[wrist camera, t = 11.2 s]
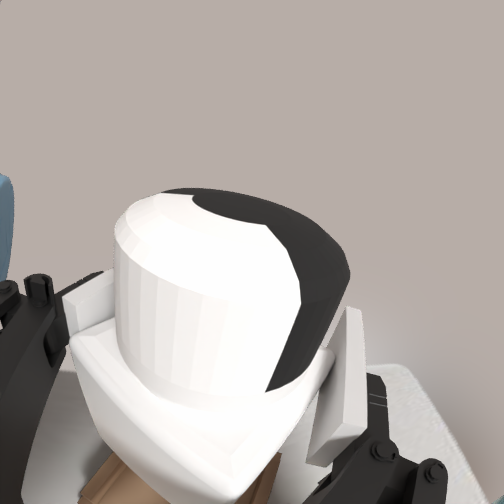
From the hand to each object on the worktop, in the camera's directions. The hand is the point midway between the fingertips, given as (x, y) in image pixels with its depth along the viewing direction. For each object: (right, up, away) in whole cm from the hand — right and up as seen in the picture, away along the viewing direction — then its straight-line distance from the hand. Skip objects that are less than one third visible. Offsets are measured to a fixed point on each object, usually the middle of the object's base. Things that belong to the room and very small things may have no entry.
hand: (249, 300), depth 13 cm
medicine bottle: (-3, -8, -2) cm, 8 cm away
